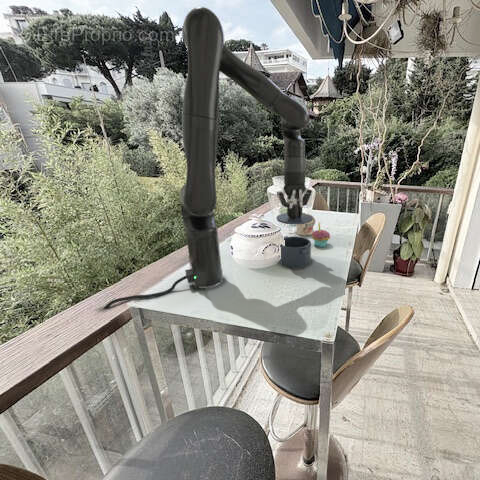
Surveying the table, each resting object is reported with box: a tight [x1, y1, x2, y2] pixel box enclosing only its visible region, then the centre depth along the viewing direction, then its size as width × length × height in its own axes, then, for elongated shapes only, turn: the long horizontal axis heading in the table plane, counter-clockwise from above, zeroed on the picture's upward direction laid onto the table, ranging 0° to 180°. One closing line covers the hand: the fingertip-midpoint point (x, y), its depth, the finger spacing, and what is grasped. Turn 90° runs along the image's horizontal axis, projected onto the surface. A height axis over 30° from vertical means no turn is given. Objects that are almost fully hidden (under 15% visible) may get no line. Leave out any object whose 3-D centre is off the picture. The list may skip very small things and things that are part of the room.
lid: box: [276, 202, 314, 225], centre depth 98 cm, size 14×14×6 cm
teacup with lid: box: [295, 213, 316, 237], centre depth 138 cm, size 12×9×12 cm
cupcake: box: [311, 222, 331, 248], centre depth 122 cm, size 9×8×12 cm
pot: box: [278, 235, 312, 269], centre depth 106 cm, size 13×18×8 cm
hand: (294, 216), depth 99 cm, fingers closed on lid, 3 cm apart
